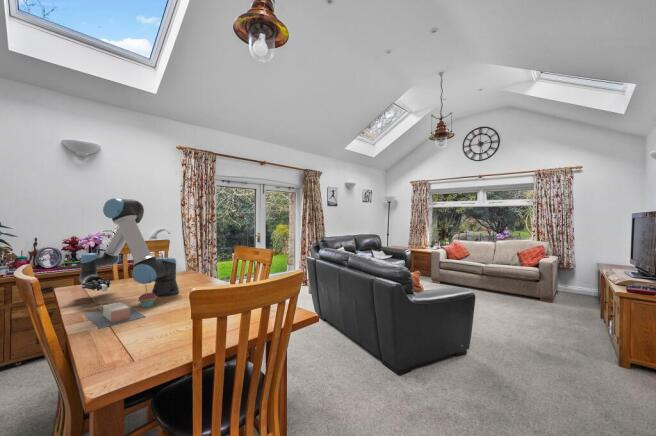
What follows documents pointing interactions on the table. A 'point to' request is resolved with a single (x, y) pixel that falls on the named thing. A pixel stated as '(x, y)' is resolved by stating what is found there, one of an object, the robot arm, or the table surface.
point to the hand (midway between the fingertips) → (105, 288)
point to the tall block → (116, 311)
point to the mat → (104, 322)
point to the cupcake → (147, 299)
